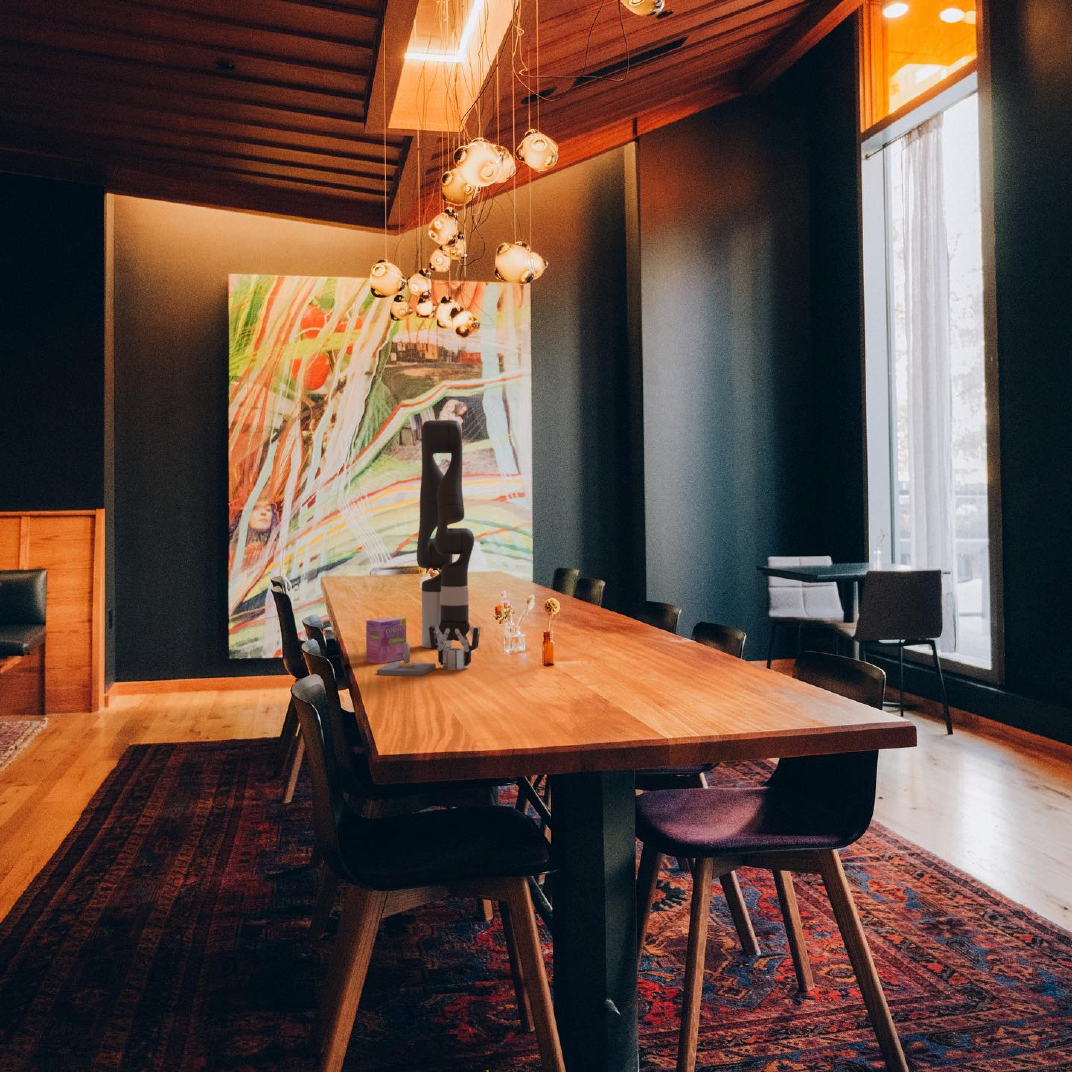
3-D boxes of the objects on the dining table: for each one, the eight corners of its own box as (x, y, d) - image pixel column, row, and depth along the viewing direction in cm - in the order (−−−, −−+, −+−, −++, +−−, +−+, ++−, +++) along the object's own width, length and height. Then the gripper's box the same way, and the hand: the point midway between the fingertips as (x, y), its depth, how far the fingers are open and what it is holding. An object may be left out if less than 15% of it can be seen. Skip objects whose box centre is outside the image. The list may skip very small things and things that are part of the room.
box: (380, 664, 254) (379, 621, 254) (365, 662, 258) (365, 619, 257) (407, 659, 263) (406, 617, 262) (393, 657, 266) (392, 616, 266)
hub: (447, 665, 253) (447, 647, 252) (468, 666, 251) (468, 648, 251) (440, 669, 247) (440, 650, 246) (462, 670, 245) (462, 651, 245)
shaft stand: (393, 666, 251) (393, 639, 251) (435, 667, 249) (435, 640, 249) (376, 674, 240) (376, 645, 239) (421, 676, 237) (421, 647, 237)
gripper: (484, 601, 250) (484, 663, 251) (433, 600, 253) (433, 661, 254) (476, 604, 243) (476, 668, 244) (424, 603, 246) (424, 666, 247)
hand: (454, 664), depth 249 cm, fingers closed on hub, 6 cm apart
